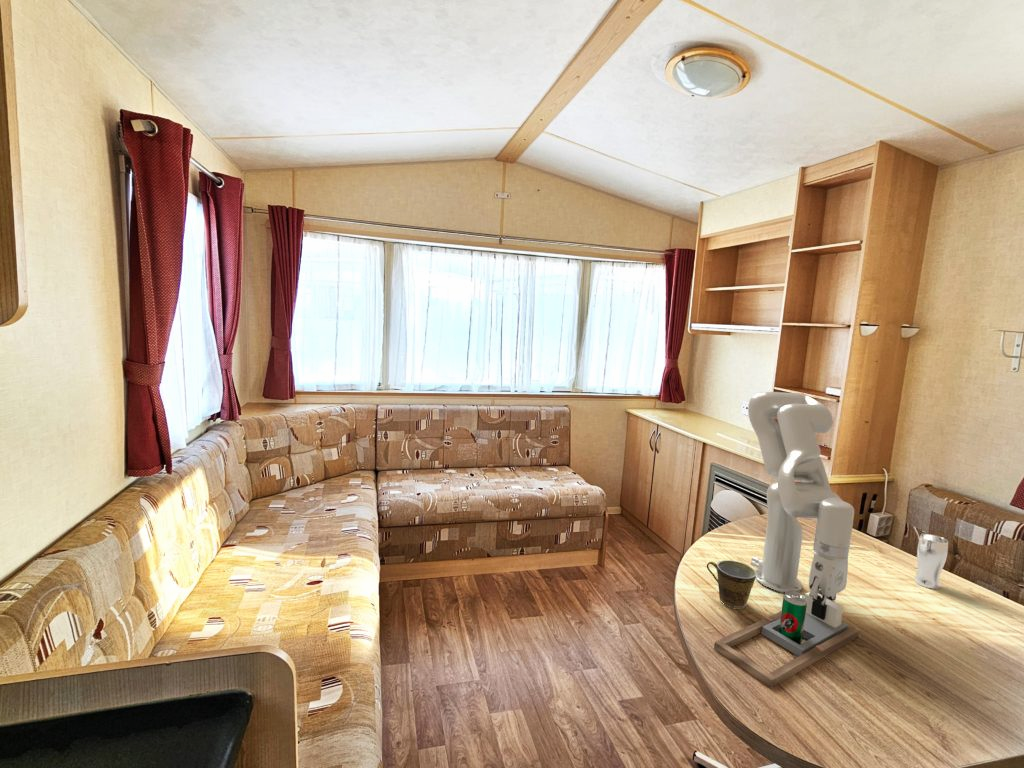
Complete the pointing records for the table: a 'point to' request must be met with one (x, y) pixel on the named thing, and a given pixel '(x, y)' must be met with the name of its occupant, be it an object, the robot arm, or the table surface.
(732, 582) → the ceramic cup
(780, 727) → the table surface
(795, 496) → the robot arm
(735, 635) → the track
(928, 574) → the beer glass
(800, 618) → the soda can
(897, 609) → the table surface
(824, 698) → the table surface
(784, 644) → the grey board with block
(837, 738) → the table surface
